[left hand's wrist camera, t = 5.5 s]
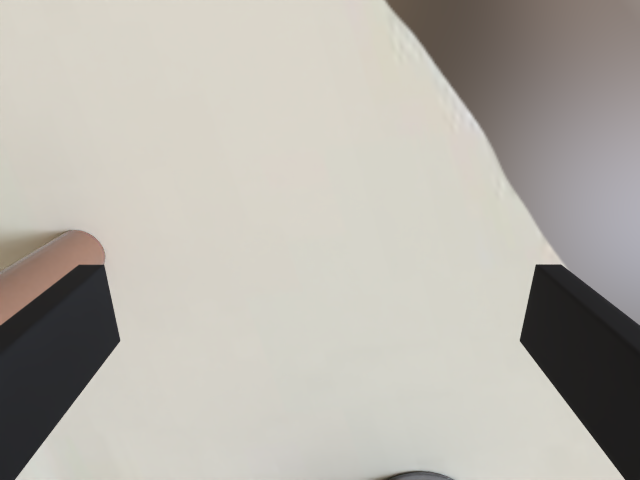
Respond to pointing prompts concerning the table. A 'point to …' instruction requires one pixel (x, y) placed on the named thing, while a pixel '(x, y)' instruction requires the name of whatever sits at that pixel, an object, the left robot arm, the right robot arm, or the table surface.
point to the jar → (45, 269)
